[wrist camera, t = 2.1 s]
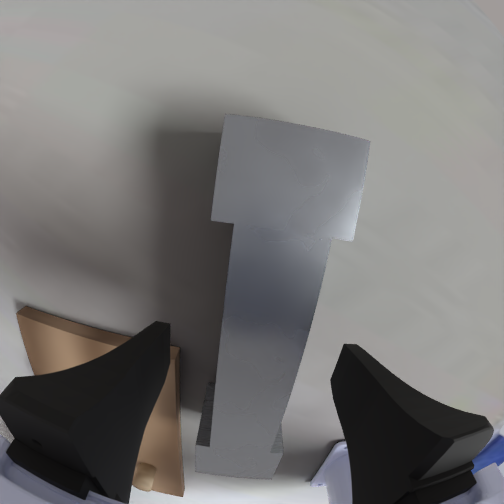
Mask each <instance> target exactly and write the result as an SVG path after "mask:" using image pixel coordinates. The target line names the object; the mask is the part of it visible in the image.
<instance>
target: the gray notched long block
mask: <svg viewBox="0 0 504 504" xmlns="http://www.w3.org/2000/svg"><path fill="white" fill-rule="evenodd" d="M369 147H370V141H369V140H365V139H361V138H357V137H354V136H350V135H346V134H341V133H337V132H333V131H328V130H324V129H319V128H315V127H310V126H304V125H299V124H294V123H288V122H282V121H276V120H270V119H263V118H256V117H248V116H240V115H231V114H225V118H224V124H223V131H222V138H221V145H220V152H219V159H218V166H217V173H216V181H215V189H214V197H213V205H212V214H211V221H218V222H225V223H233V224H234V228H233V236H232V243H231V251H230V259H229V267H228V276H227V284H226V292H225V301H224V310H223V318H222V327H221V336H220V346H219V355H218V365H217V375H216V384H212V383H208V385H207V390H206V395H205V400H204V405H203V410H202V415H201V420H200V426H199V431H198V436H197V441H196V472H200V473H207V474H214V475H222V476H231V477H242V478H257V479H272V477H273V475H274V473H275V471H276V469H277V467H278V464H279V462H280V460H281V458H282V456H283V441H282V430H281V421H282V418H283V415H284V412H285V410H286V407H287V404H288V401H289V398H290V395H291V391H292V388H293V385H294V382H295V379H296V376H297V372H298V369H299V366H300V363H301V359H302V356H303V352H304V349H305V345H306V342H307V338H308V335H309V331H310V328H311V324H312V320H313V316H314V313H315V309H316V305H317V301H318V297H319V293H320V289H321V285H322V281H323V276H324V272H325V268H326V263H327V259H328V254H329V250H330V245H331V240H332V238H334V239H340V240H346V241H352V242H353V237H354V233H355V228H356V223H357V218H358V213H359V208H360V203H361V198H362V192H363V186H364V181H365V174H366V168H367V162H368V155H369Z"/></svg>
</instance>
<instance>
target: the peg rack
mask: <svg viewBox="0 0 504 504" xmlns="http://www.w3.org/2000/svg"><path fill="white" fill-rule="evenodd" d="M16 315H17V319H18V323H19V327H20V331H21V335H22V338H23V342H24V345H25V348H26V351H27V355H28V358H29V361H30V364H31V367H32V369H33V372H34V375H43V374H48V373H53V372H57V371H62V370H65V369H69V368H72V367H75V366H78V365H81V364H83V363H86V362H89V361H91V360H93V359H95V358H98V357H100V356H102V355H104V354H106V353H108V352H110V351H111V350H113V349H115V348H116V347H118V346H120V345H121V344H123V343H125V342H126V341H128V340H129V339H131V338H132V337H128V336H123V335H119V334H115V333H111V332H107V331H104V330H100V329H96V328H93V327H89V326H85V325H82V324H79V323H75V322H72V321H69V320H65V319H62V318H59V317H56V316H53V315H50V314H47V313H44V312H41V311H38V310H35V309H32V308H30V307H27V306H25V307H24V308H22V309H21V310H20V311H18V312H17V313H16ZM179 364H180V347H175V346H170V366H169V370H168V373H167V377H166V380H165V383H164V385H163V388H162V390H161V392H160V395H159V397H158V399H157V402H156V404H155V406H154V408H153V411H152V413H151V415H150V418H149V420H148V423H147V425H146V428H145V431H144V435H143V438H142V442H141V446H140V450H139V454H138V458H137V462H136V466H135V471H134V476H133V481H132V485H133V486H134V487H136V488H137V489H140V490H142V491H151V490H153V491H157V492H161V493H165V494H170V495H175V496H180V497H183V494H184V489H185V487H184V476H183V462H182V446H181V425H180V377H179Z"/></svg>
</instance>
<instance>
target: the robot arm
mask: <svg viewBox="0 0 504 504" xmlns="http://www.w3.org/2000/svg"><path fill="white" fill-rule="evenodd" d="M169 366H170V324H169V323H164V322H158V321H156V322H154V323H153V324H151V325H150V326H148V327H147V328H145V329H144V330H143V331H141V332H140V333H138V334H137V335H135V336H134V337H132V338H131V339H129V340H128V341H126V342H125V343H123V344H121V345H120V346H118V347H116V348H115V349H113V350H111V351H110V352H108V353H106V354H104V355H102V356H100V357H98V358H95V359H93V360H91V361H89V362H86V363H83V364H81V365H78V366H75V367H72V368H69V369H65V370H62V371H57V372H53V373H48V374H43V375H35V376H25V377H15V378H14V379H13V380H12V382H11V383H10V384H9V385H8V386H7V387H6V388H5V390H4V391H3V392H2V393H1V394H0V416H1V417H2V419H3V421H4V422H5V424H6V426H7V427H8V429H9V430H10V432H11V433H12V435H13V436H14V438H15V439H14V440H13V442H12V443H10V442H9V441H8V440H7V439H6V438H4V437H3V436H2V435H0V504H129V498H130V492H131V486H132V481H133V476H134V471H135V466H136V462H137V458H138V454H139V450H140V446H141V442H142V438H143V435H144V431H145V428H146V425H147V423H148V420H149V418H150V415H151V413H152V411H153V408H154V406H155V404H156V402H157V399H158V397H159V395H160V392H161V390H162V388H163V385H164V383H165V380H166V377H167V373H168V370H169ZM331 388H332V394H333V400H334V403H335V407H336V410H337V413H338V417H339V420H340V423H341V426H342V430H343V433H344V436H345V440H346V441H344V442H339V443H337V444H336V445H335V446H334V447H333V449H332V451H331V452H330V454H329V455H328V457H327V458H326V460H325V462H324V463H323V465H322V466H321V468H320V469H319V471H318V472H317V473H316V475H315V476H314V478H313V479H312V481H311V482H310V486H312V487H318V486H326V487H327V493H328V499H329V504H504V477H503V475H502V473H501V472H500V470H499V468H498V466H497V465H496V463H493V464H491V465H489V466H487V467H485V468H483V469H481V470H479V471H478V472H476V473H475V474H474V475H473V474H472V472H471V470H472V469H473V468H474V464H473V462H472V460H473V459H474V458H475V457H476V456H477V455H478V453H479V452H480V451H481V450H482V449H483V448H484V447H485V446H486V444H487V443H488V442H489V440H490V439H491V437H492V435H493V431H494V429H493V427H492V425H491V424H490V423H489V421H488V420H487V418H486V417H485V416H481V415H477V414H472V413H468V412H464V411H461V410H458V409H455V408H452V407H449V406H447V405H444V404H442V403H440V402H438V401H436V400H434V399H431V398H429V397H428V396H426V395H424V394H422V393H420V392H419V391H417V390H415V389H414V388H412V387H411V386H409V385H408V384H406V383H405V382H403V381H402V380H401V379H399V378H398V377H397V376H395V375H394V374H393V373H391V372H390V371H389V370H388V369H386V368H385V367H384V366H383V365H382V364H380V363H379V362H378V361H377V360H376V359H374V358H373V357H372V356H371V355H370V354H368V353H367V352H366V351H365V350H364V349H362V348H361V347H360V346H358V345H357V344H344V345H343V348H342V351H341V353H340V356H339V359H338V361H337V364H336V367H335V369H334V372H333V374H332V377H331Z"/></svg>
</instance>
